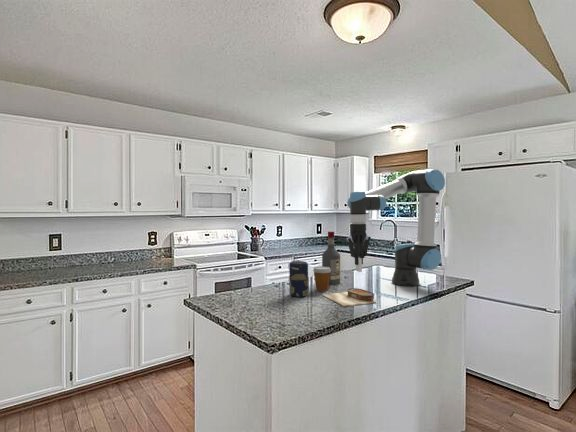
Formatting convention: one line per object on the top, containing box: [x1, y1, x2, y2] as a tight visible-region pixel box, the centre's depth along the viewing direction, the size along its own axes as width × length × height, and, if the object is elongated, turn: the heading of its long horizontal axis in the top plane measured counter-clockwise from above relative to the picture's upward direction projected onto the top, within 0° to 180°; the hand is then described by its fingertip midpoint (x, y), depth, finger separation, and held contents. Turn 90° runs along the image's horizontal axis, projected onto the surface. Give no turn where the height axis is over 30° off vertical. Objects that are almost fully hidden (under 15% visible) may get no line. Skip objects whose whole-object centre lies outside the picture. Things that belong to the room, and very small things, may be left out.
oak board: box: [322, 291, 377, 308], centre depth 169 cm, size 17×21×1 cm
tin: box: [347, 287, 375, 301], centre depth 171 cm, size 15×3×8 cm
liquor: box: [321, 231, 341, 285], centre depth 205 cm, size 9×9×30 cm
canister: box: [288, 259, 309, 298], centre depth 176 cm, size 10×10×18 cm
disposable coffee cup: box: [312, 265, 331, 292], centre depth 188 cm, size 10×10×12 cm
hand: (359, 271), depth 171 cm, fingers closed
